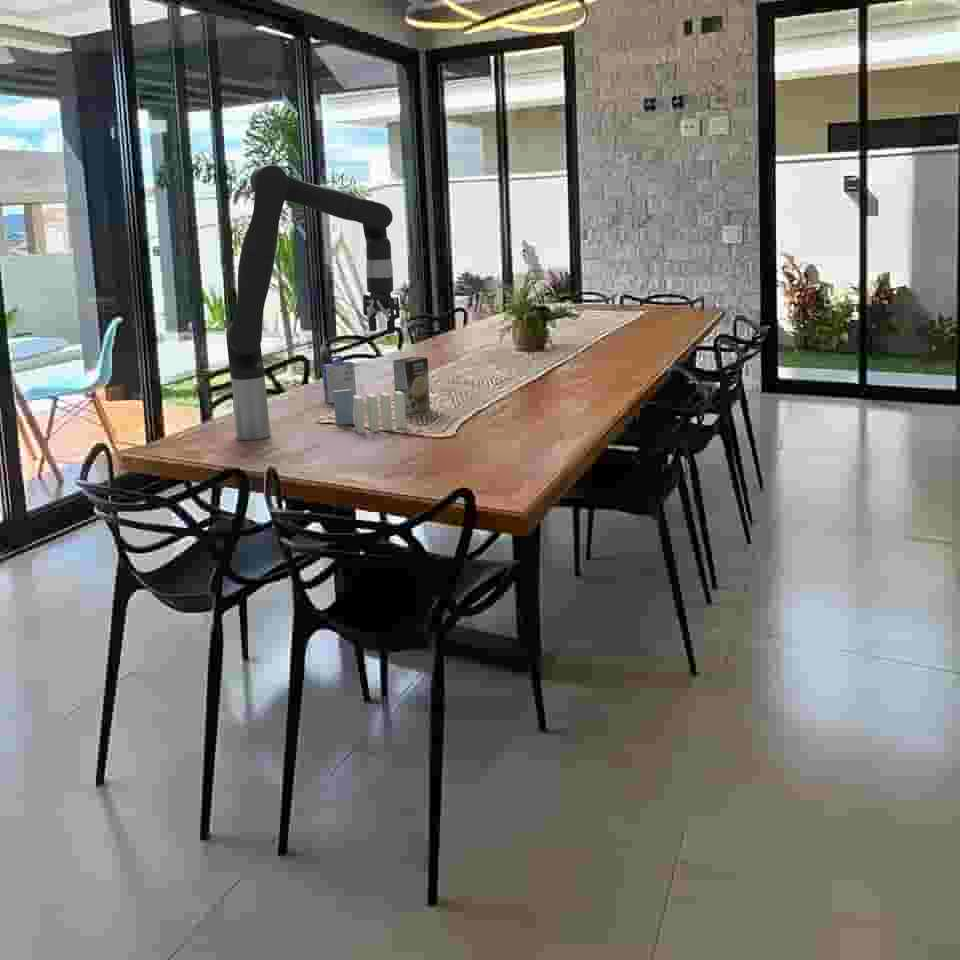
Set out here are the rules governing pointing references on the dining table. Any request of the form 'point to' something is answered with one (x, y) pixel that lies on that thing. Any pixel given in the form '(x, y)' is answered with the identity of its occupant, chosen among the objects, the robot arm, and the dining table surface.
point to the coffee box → (413, 383)
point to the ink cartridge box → (338, 378)
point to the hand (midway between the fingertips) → (382, 332)
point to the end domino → (343, 407)
